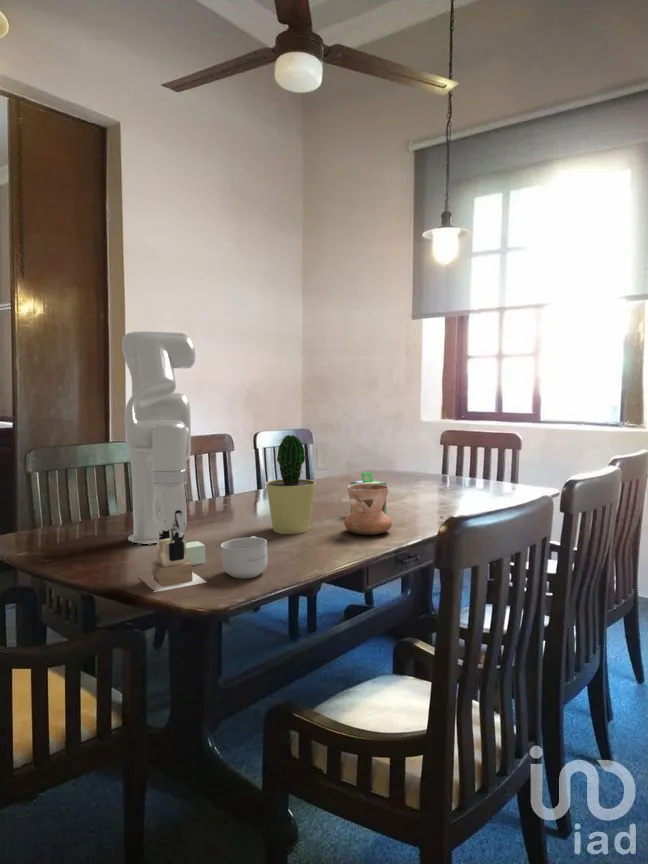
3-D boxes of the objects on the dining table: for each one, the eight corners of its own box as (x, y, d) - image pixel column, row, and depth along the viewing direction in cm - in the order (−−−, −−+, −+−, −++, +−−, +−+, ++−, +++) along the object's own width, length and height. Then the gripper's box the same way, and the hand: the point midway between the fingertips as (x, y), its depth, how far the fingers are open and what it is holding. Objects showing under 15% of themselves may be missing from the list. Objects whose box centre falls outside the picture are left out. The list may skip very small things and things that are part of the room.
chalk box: (368, 519, 204) (368, 475, 203) (349, 515, 211) (349, 472, 210) (387, 515, 210) (387, 472, 209) (368, 511, 217) (368, 469, 216)
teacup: (254, 584, 137) (253, 549, 136) (212, 579, 141) (211, 545, 140) (281, 567, 150) (280, 535, 149) (242, 563, 154) (241, 531, 153)
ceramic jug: (372, 541, 175) (372, 492, 174) (331, 534, 184) (331, 487, 183) (405, 530, 189) (405, 484, 188) (366, 523, 198) (366, 480, 197)
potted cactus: (255, 530, 189) (254, 433, 187) (290, 522, 200) (289, 430, 198) (291, 538, 179) (291, 435, 177) (326, 529, 190) (325, 432, 188)
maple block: (157, 561, 140) (156, 540, 139) (178, 558, 142) (177, 537, 142) (164, 566, 136) (164, 544, 135) (186, 563, 138) (185, 541, 138)
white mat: (137, 579, 141) (137, 577, 141) (187, 570, 148) (187, 569, 147) (154, 593, 131) (154, 591, 131) (207, 583, 137) (207, 582, 137)
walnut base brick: (152, 578, 140) (151, 561, 140) (181, 573, 144) (181, 556, 144) (162, 586, 134) (161, 568, 134) (192, 581, 138) (192, 563, 138)
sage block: (179, 563, 154) (178, 543, 154) (198, 560, 157) (197, 541, 156) (186, 568, 150) (185, 548, 150) (205, 565, 153) (205, 545, 152)
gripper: (141, 474, 143) (143, 550, 144) (166, 484, 128) (168, 568, 130) (172, 472, 147) (174, 546, 148) (200, 481, 132) (201, 562, 134)
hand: (171, 555), depth 139 cm, fingers open, 6 cm apart
